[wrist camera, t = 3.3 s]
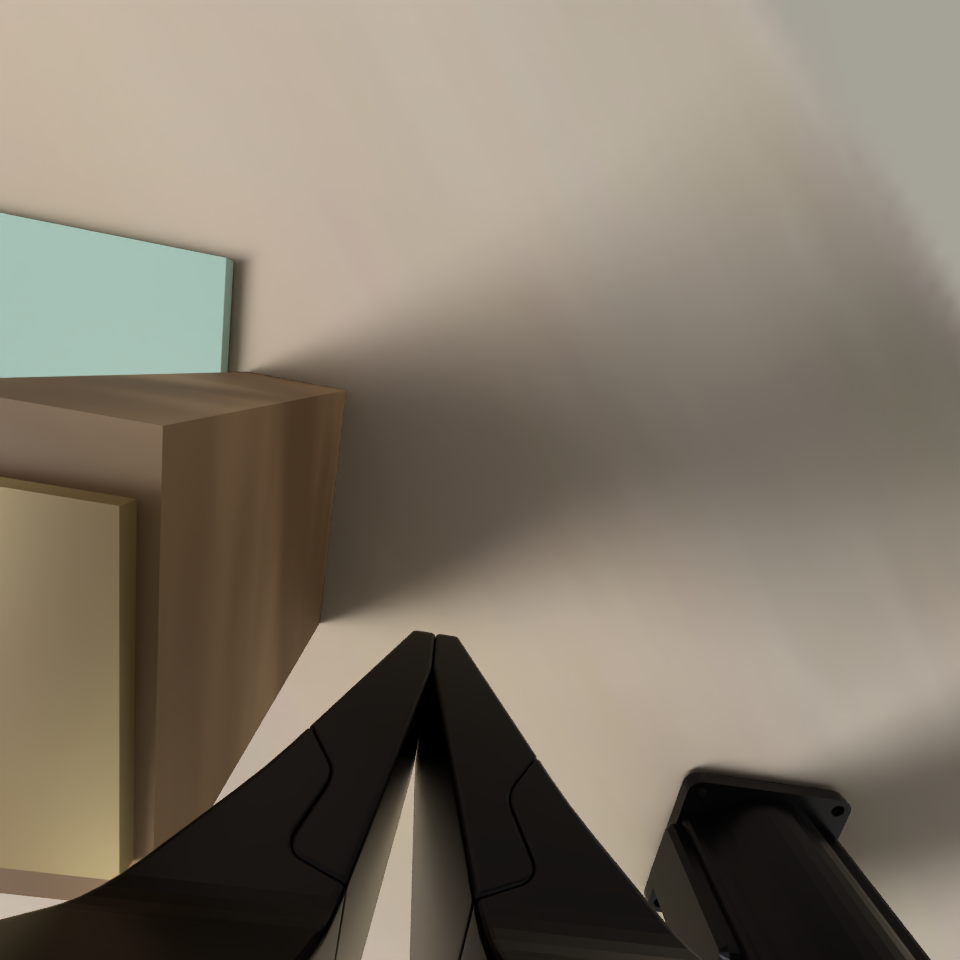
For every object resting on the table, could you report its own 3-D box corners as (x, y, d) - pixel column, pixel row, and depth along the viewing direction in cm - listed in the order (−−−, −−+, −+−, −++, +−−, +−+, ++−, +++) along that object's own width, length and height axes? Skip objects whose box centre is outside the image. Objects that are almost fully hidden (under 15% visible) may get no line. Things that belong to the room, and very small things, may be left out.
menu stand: (346, 390, 14) (146, 428, 5) (319, 622, 16) (138, 931, 7) (240, 370, 14) (-145, 378, 5) (226, 608, 16) (-75, 908, 7)
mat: (233, 261, 13) (226, 258, 13) (210, 684, 16) (204, 691, 16) (-107, 193, 12) (-126, 187, 12) (-60, 646, 16) (-74, 653, 15)
